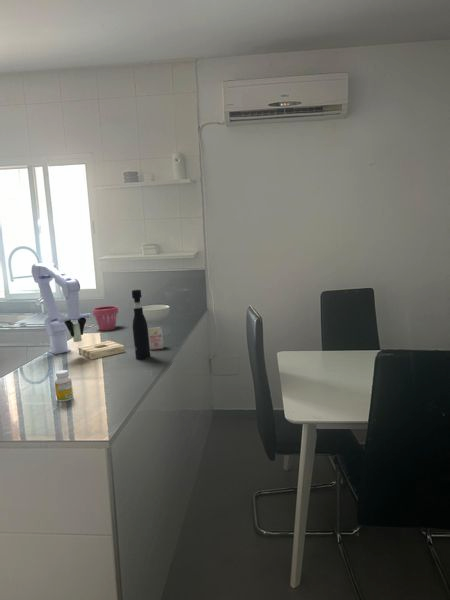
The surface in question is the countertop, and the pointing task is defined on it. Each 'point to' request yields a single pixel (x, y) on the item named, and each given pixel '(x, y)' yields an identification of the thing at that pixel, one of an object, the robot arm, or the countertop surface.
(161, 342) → the white pink printed box
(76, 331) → the pin
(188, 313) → the countertop surface
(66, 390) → the supplement bottle
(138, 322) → the wine bottle
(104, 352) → the pocket block
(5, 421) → the countertop surface
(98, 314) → the plant pot
